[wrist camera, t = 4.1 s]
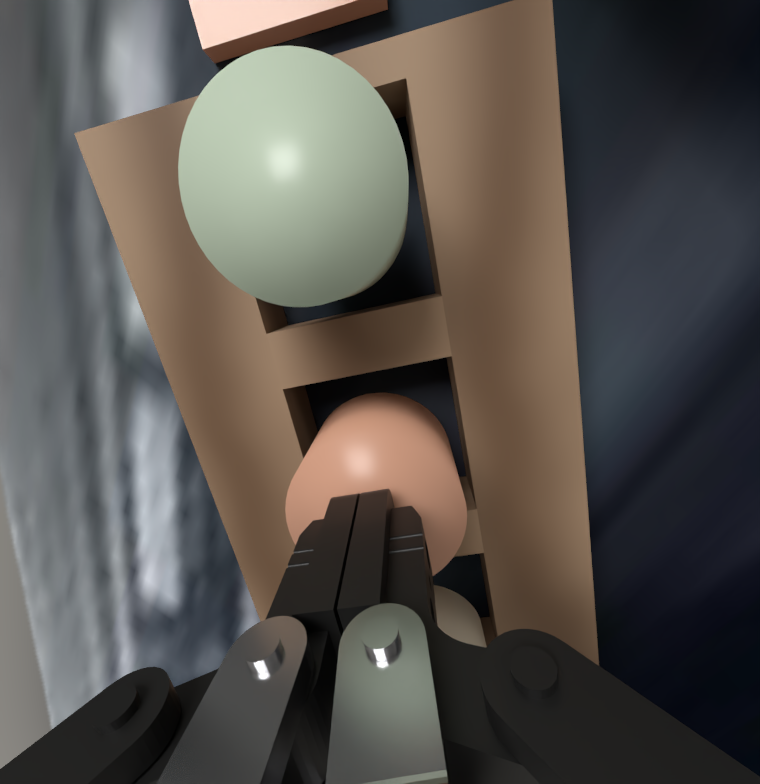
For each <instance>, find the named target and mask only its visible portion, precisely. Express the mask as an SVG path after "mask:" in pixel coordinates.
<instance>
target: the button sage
mask: <svg viewBox="0 0 760 784" xmlns="http://www.w3.org/2000/svg"><path fill="white" fill-rule="evenodd" d="M178 176H179V188H180V195H181V201H182V205H183V208H184V212H185V216H186V218H187V221H188V224H189V226H190V229H191V231H192V233H193V235H194V237H195V239H196V241H197V243H198V245H199V246H200V248H201V249H202V251H203V252H204V254H205V255H206V257H207V258H208V260H209V261H210V262H211V263H212V264H213V265H214V267H215V268H216V269H217V270H218V271H219V272H220V273H221V274H222V275H223V276H224V277H225V278H226V279H228V280H229V281H230V282H231V283H233V284H234V285H235V286H237V287H238V288H239V289H241V290H243V291H244V292H246V293H248V294H250V295H252V296H253V297H256V298H258V299H261V300H263V301H266V302H269V303H273V304H277V305H281V306H289V307H311V306H318V305H323V304H326V303H330V302H333V301H337V300H340V299H343V298H347V297H350V296H353V295H356V294H358V293H360V292H363V291H365V290H366V289H368V288H369V287H371V286H372V285H374V284H375V283H376V282H377V281H378V280H380V279H381V278H382V277H383V276H384V274H385V273H386V272H387V271H388V270H389V268H390V267H391V266H392V264H393V263H394V261H395V259H396V257H397V255H398V253H399V251H400V249H401V246H402V243H403V240H404V236H405V232H406V224H407V212H408V190H409V175H408V166H407V158H406V153H405V149H404V145H403V141H402V138H401V135H400V132H399V130H398V127H397V124H396V122H395V120H394V118H393V116H392V114H391V112H390V110H389V108H388V107H387V105H386V104H385V102H384V101H383V99H382V98H381V96H380V95H379V93H378V92H377V91H376V90H375V89H374V88H373V87H372V85H371V84H370V83H369V82H368V81H367V80H366V79H365V78H364V77H363V76H362V75H360V74H359V73H358V72H357V71H356V70H355V69H353V68H352V67H350V66H349V65H347V64H346V63H344V62H343V61H341V60H339V59H338V58H335V57H333V56H331V55H329V54H326V53H324V52H322V51H318V50H314V49H311V48H307V47H299V46H273V47H269V48H264V49H260V50H256V51H254V52H251V53H249V54H246V55H244V56H242V57H240V58H238V59H237V60H235V61H233V62H232V63H230V64H228V65H227V66H226V67H225V68H224V69H222V70H221V71H220V72H219V73H218V74H216V75H215V76H214V78H213V79H212V80H211V81H210V82H209V83H208V84H207V85H206V87H205V88H204V89H203V91H202V92H201V94H200V95H199V97H198V98H197V100H196V101H195V103H194V105H193V108H192V110H191V112H190V114H189V116H188V118H187V121H186V125H185V128H184V131H183V134H182V139H181V144H180V149H179V162H178Z"/></svg>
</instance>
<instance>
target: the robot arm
mask: <svg viewBox="0 0 760 784" xmlns="http://www.w3.org/2000/svg"><path fill="white" fill-rule="evenodd" d="M293 552H294V554H292V555H291V558H290V560H289V563H288V568H286V570H285V573H284V575H283V578H282V580H281V583H280V585H279V587H278V590H277V592H276V595H275V597H274V600H273V602H272V605H271V607H270V610H269V612H268V614H267V617H266V619H265V620H263V621H261V622H259V623H257V624H256V625H254V626H252V627H251V628H250V629H248V630H247V631H246V632H245V633H243V634H242V635H241V636H240V637H239V638H238V639H237V640H236V641H235V643H234V644H233V645H232V647H231V648H230V650H229V651H228V653H227V654H226V656H225V658H224V660H223V662H222V664H221V665H220V667H219V669H217V670H214V671H212V672H210V673H207V674H205V675H203V676H200V677H198V678H195V679H193V680H191V681H188V682H186V683H183V684H181V685H179V686H176V687H173V685H172V682H171V680H170V678H169V676H168V674H167V673H166V672H165V671H164V670H163V669H161V668H157V667H147V668H143V669H139V670H137V671H134V672H132V673H130V674H127V675H125V676H124V677H122V678H120V679H119V680H117V681H116V682H114V683H113V684H111V685H110V686H108V687H107V688H106V689H105V690H103V691H102V692H101V693H99V694H98V695H97V696H95V697H94V698H93V699H91V700H90V701H89V702H88V703H86V704H85V705H84V706H82V707H81V708H80V709H78V710H77V711H76V712H74V713H73V714H72V715H71V716H69V717H68V718H67V719H65V720H64V721H63V722H61V723H60V724H59V725H57V726H56V727H55V728H54V729H52V730H51V731H50V732H48V733H47V734H46V735H44V736H43V737H42V738H40V739H39V740H38V741H37V742H35V743H34V744H33V745H31V746H30V747H29V748H27V749H26V750H25V751H23V752H22V753H21V754H20V755H18V756H17V757H16V758H14V759H13V760H12V761H10V762H9V763H8V764H7V765H5V766H4V767H3V768H1V769H0V784H760V777H759V776H758V775H756V774H755V773H753V772H752V771H751V770H749V769H748V768H746V767H745V766H743V765H742V764H740V763H739V762H737V761H736V760H735V759H733V758H732V757H730V756H729V755H727V754H726V753H724V752H723V751H722V750H720V749H719V748H717V747H716V746H714V745H713V744H711V743H710V742H708V741H707V740H706V739H704V738H703V737H701V736H700V735H698V734H697V733H695V732H694V731H693V730H691V729H690V728H688V727H687V726H685V725H684V724H682V723H681V722H679V721H678V720H677V719H675V718H674V717H672V716H671V715H669V714H668V713H666V712H665V711H664V710H662V709H661V708H659V707H658V706H656V705H655V704H653V703H652V702H650V701H649V700H648V699H646V698H645V697H643V696H642V695H640V694H639V693H637V692H636V691H635V690H633V689H632V688H630V687H629V686H627V685H626V684H624V683H623V682H622V681H620V680H619V679H617V678H616V677H614V676H613V675H611V674H610V673H608V672H607V671H606V670H604V669H603V668H601V667H600V666H598V665H597V664H595V663H594V662H593V661H591V660H590V659H588V658H587V657H585V656H584V655H582V654H581V653H579V652H578V651H577V650H575V649H574V648H572V647H571V646H569V645H568V644H566V643H565V642H563V641H562V640H560V639H558V638H557V637H555V636H553V635H551V634H548V633H546V632H542V631H539V630H533V629H516V630H511V631H508V632H505V633H503V634H501V635H499V636H497V637H496V638H495V639H494V640H492V641H491V642H490V644H489V645H488V646H487V647H486V648H485V647H481V646H476V645H472V644H467V643H464V642H461V641H458V640H456V639H454V638H452V637H450V636H449V635H447V634H445V633H444V632H443V631H442V630H441V629H440V628H439V627H438V624H437V614H436V605H435V595H434V585H433V575H432V567H431V562H430V557H429V553H428V548H427V543H426V538H425V533H424V529H423V524H422V519H421V516H420V515H419V514H418V513H417V511H416V510H415V509H414V508H413V507H412V506H405V507H399V508H395V507H394V503H393V499H392V495H391V492H390V489H382V490H376V491H370V492H363V493H361V494H360V493H357V494H351V495H345V496H338V497H332V498H331V499H330V501H329V504H328V507H327V510H326V513H325V516H324V519H319V520H313V521H312V522H311V523H310V524H309V526H308V527H307V528H306V529H305V530H304V531H303V532H302V533H301V534H300V536H299V538H298V541H297V543H296V546H295V548H294V551H293Z"/></svg>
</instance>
